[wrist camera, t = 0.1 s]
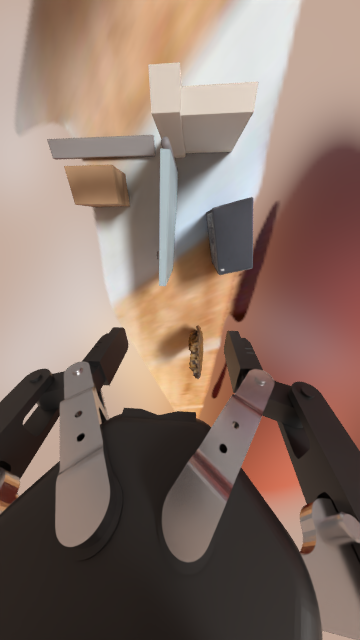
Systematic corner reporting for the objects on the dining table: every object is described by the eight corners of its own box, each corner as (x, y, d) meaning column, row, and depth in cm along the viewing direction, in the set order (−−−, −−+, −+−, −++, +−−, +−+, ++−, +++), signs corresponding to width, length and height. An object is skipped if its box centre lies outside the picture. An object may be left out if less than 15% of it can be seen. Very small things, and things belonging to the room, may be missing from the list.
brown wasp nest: (188, 315, 46) (186, 351, 33) (202, 315, 45) (205, 351, 33) (188, 344, 52) (187, 385, 39) (201, 345, 51) (204, 385, 39)
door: (162, 267, 38) (151, 284, 28) (164, 165, 28) (148, 135, 18) (173, 268, 38) (165, 286, 28) (178, 166, 28) (170, 136, 18)
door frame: (48, 138, 28) (-56, 79, 16) (233, 130, 26) (267, 56, 14) (56, 161, 30) (-34, 122, 18) (230, 155, 28) (258, 108, 16)
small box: (239, 257, 36) (254, 269, 28) (211, 263, 38) (217, 277, 29) (238, 202, 31) (255, 195, 22) (205, 211, 32) (209, 208, 23)
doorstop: (85, 175, 31) (64, 166, 26) (125, 174, 30) (111, 164, 25) (93, 206, 33) (75, 204, 28) (130, 206, 33) (118, 203, 28)
